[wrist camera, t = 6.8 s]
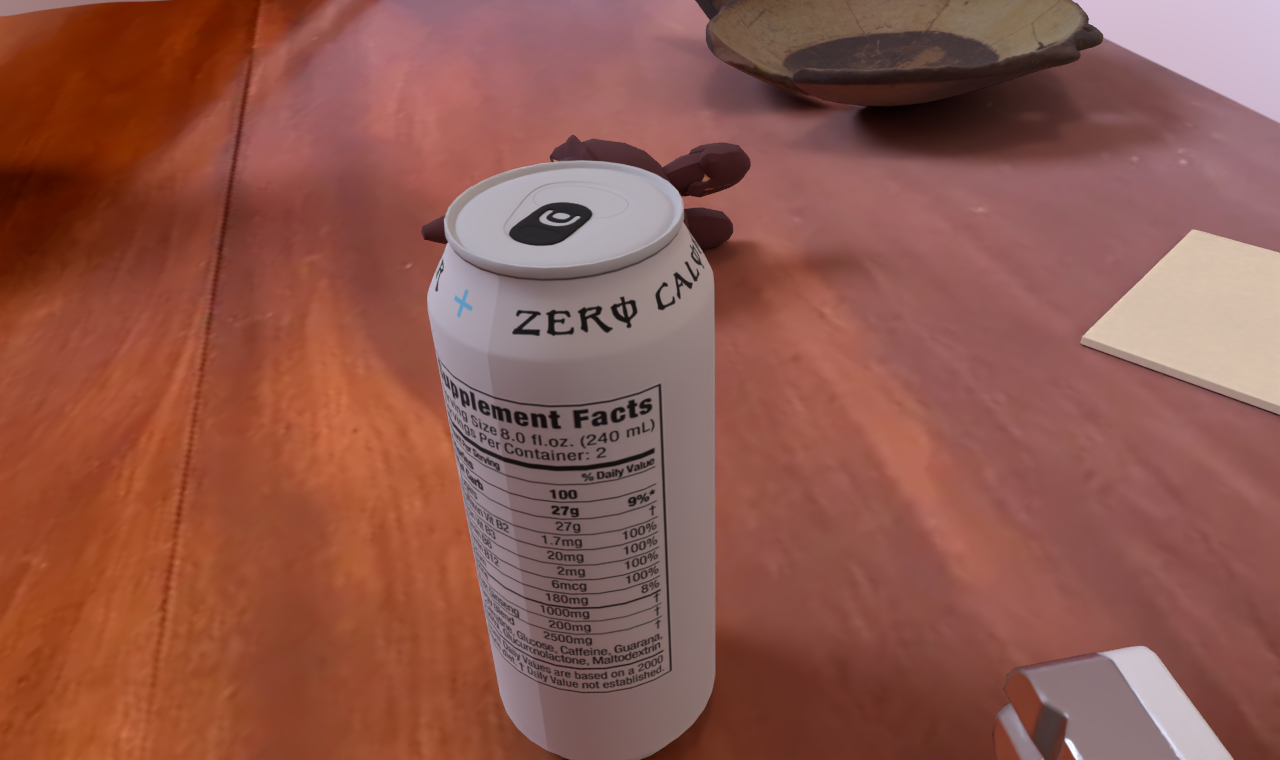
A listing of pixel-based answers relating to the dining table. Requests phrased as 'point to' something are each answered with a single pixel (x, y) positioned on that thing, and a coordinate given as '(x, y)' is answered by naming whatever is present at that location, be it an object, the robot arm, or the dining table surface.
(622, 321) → the energy drink can
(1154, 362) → the beige rectangular board
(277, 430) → the dining table surface
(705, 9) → the olive ceramic shallow bowl
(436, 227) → the maroon pointed figurine
